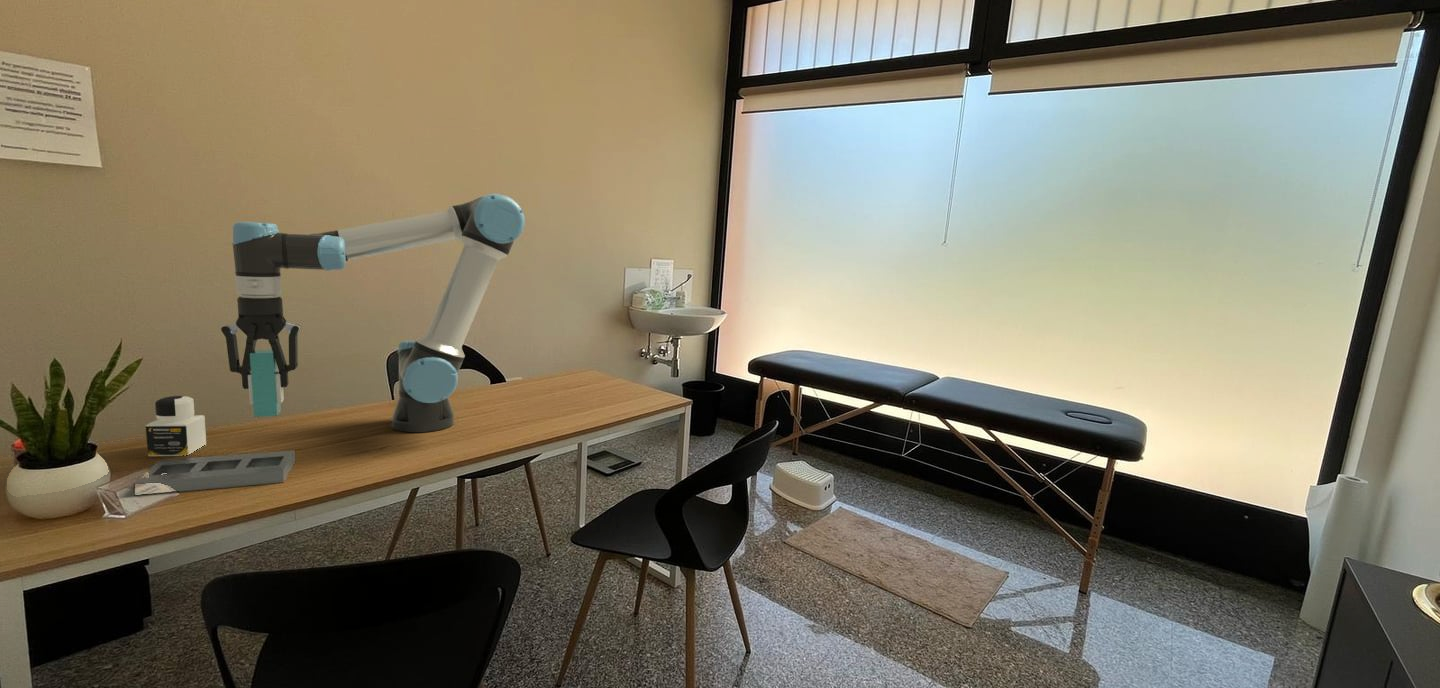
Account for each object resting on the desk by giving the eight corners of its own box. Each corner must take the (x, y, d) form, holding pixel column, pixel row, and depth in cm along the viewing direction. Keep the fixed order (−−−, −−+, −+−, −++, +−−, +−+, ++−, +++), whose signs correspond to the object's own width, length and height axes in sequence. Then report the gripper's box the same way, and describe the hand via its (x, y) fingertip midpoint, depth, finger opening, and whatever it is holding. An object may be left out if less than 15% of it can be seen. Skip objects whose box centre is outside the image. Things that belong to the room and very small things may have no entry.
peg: (281, 410, 130) (277, 349, 128) (277, 415, 126) (273, 352, 124) (258, 411, 128) (254, 349, 126) (254, 417, 125) (249, 353, 122)
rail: (295, 461, 126) (294, 450, 126) (283, 482, 115) (283, 470, 115) (160, 471, 116) (159, 460, 115) (134, 495, 105) (133, 483, 105)
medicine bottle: (147, 457, 122) (142, 402, 121) (168, 445, 129) (164, 393, 127) (188, 456, 124) (184, 402, 123) (207, 445, 131) (203, 393, 129)
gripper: (202, 297, 116) (211, 409, 120) (305, 298, 124) (311, 404, 127) (213, 293, 122) (222, 400, 126) (311, 294, 130) (316, 395, 134)
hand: (267, 401), depth 127 cm, fingers closed on peg, 4 cm apart
